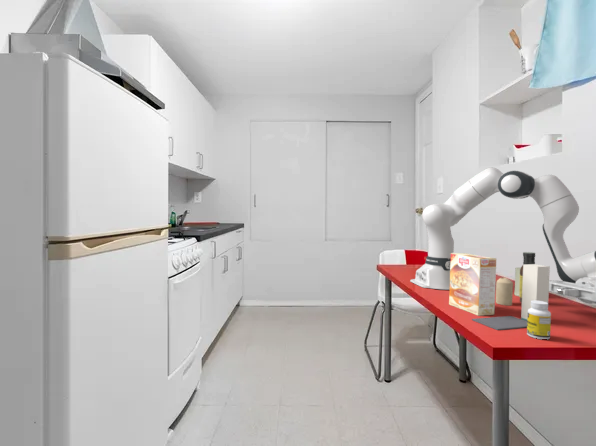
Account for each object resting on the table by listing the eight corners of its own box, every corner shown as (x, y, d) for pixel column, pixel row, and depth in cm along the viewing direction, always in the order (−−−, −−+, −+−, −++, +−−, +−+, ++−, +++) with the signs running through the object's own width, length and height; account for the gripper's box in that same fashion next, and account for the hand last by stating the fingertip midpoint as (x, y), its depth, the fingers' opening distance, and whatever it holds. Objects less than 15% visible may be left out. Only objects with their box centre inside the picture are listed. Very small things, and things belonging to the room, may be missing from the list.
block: (521, 319, 115) (523, 264, 114) (532, 318, 116) (535, 264, 116) (535, 323, 110) (537, 266, 110) (547, 322, 112) (549, 266, 111)
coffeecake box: (448, 304, 132) (449, 253, 131) (464, 303, 134) (465, 252, 133) (477, 316, 117) (479, 258, 117) (495, 315, 119) (497, 257, 119)
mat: (471, 320, 112) (471, 318, 112) (510, 317, 117) (511, 315, 117) (497, 330, 103) (497, 328, 103) (539, 326, 107) (539, 325, 107)
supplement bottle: (522, 332, 101) (524, 299, 101) (542, 334, 100) (544, 300, 100) (533, 339, 96) (534, 304, 95) (554, 340, 95) (556, 304, 95)
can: (527, 298, 144) (528, 269, 144) (508, 293, 153) (509, 266, 153) (545, 298, 146) (546, 269, 146) (526, 293, 155) (527, 266, 155)
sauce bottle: (531, 301, 140) (533, 251, 140) (541, 305, 134) (544, 253, 133) (515, 300, 140) (517, 251, 140) (525, 304, 134) (527, 253, 134)
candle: (514, 306, 132) (515, 279, 131) (498, 305, 133) (499, 278, 133) (508, 302, 137) (509, 277, 137) (493, 301, 138) (494, 276, 138)
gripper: (560, 275, 130) (531, 276, 126) (625, 287, 110) (593, 289, 106) (559, 292, 130) (531, 294, 126) (624, 307, 111) (592, 309, 107)
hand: (560, 291), depth 116 cm, fingers closed
